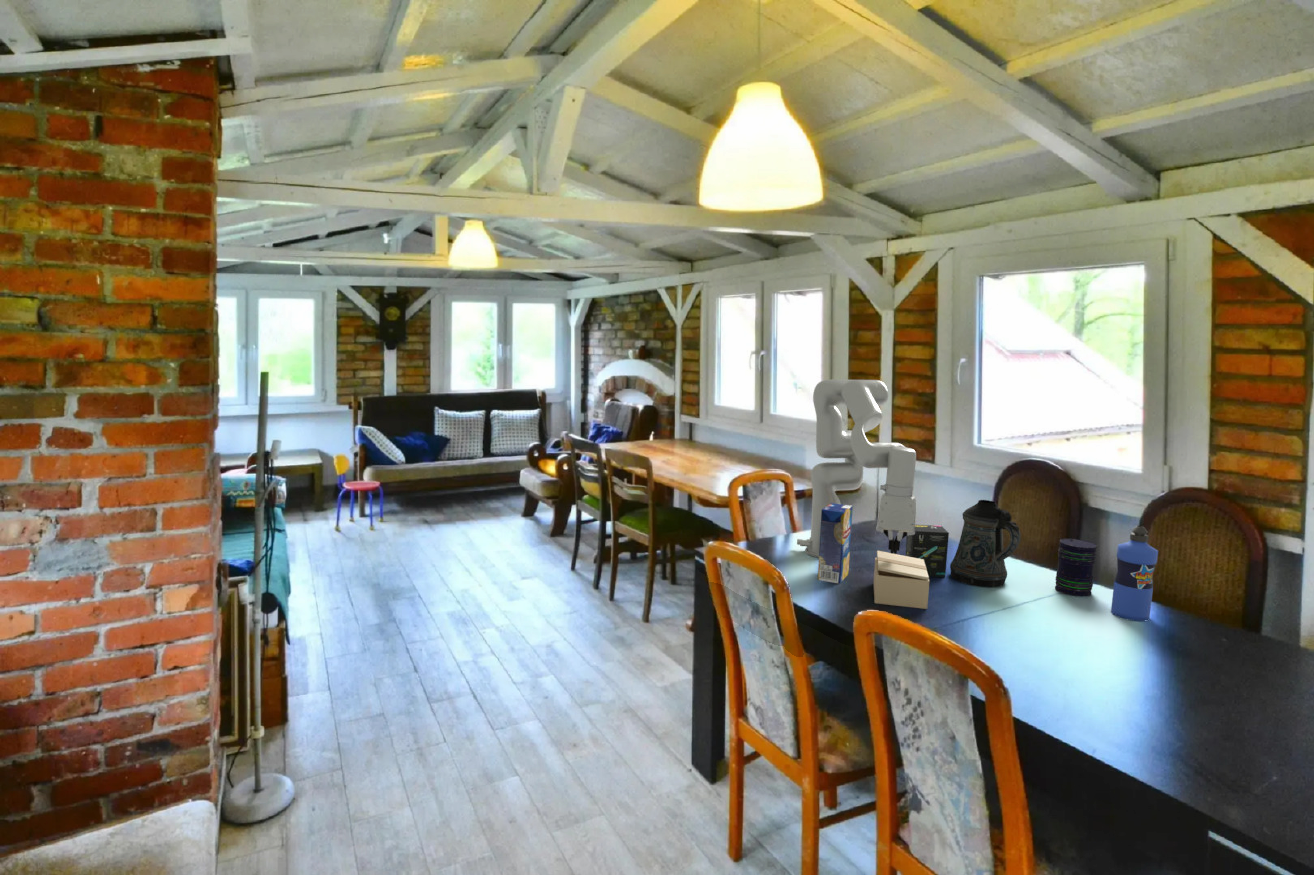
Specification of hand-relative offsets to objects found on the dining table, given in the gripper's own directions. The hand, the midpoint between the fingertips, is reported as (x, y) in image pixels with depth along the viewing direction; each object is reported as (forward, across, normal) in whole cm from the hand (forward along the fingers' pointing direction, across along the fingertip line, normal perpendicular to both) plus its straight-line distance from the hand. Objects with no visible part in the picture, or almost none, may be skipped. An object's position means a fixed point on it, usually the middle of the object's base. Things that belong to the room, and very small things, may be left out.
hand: (893, 552), depth 217 cm
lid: (+3, +2, -1) cm, 4 cm away
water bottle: (+12, +64, +4) cm, 65 cm away
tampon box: (+13, +12, +25) cm, 31 cm away
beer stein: (+13, +28, +23) cm, 39 cm away
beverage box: (+13, -16, +10) cm, 23 cm away
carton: (+12, +2, -1) cm, 13 cm away
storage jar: (+12, +54, +21) cm, 59 cm away
